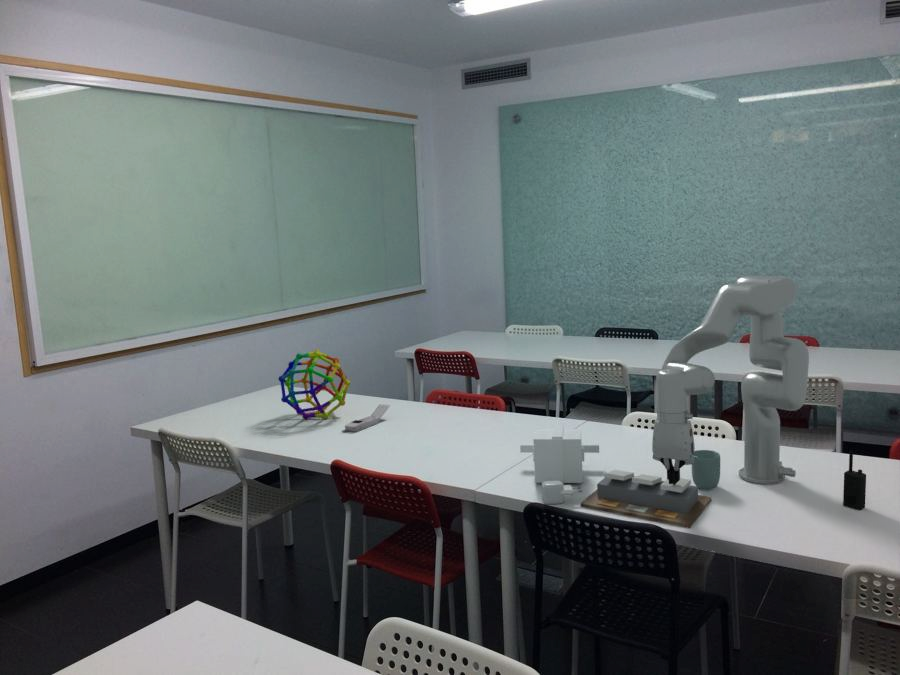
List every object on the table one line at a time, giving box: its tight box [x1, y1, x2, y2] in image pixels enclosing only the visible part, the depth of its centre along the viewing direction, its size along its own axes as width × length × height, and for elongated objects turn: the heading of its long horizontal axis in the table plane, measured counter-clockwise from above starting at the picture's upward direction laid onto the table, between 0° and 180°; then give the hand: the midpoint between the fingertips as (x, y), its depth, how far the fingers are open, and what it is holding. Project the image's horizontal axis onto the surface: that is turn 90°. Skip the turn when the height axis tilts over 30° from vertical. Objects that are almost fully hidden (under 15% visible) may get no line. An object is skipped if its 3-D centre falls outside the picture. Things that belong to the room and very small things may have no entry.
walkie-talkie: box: [842, 450, 867, 511], centre depth 186 cm, size 5×3×15 cm
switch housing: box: [596, 475, 699, 514], centre depth 197 cm, size 25×10×5 cm, turn 55°
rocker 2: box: [632, 473, 663, 485], centre depth 197 cm, size 6×8×1 cm
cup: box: [691, 449, 721, 491], centre depth 205 cm, size 8×8×10 cm
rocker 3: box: [661, 477, 692, 493], centre depth 192 cm, size 6×8×1 cm
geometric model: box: [278, 349, 351, 420], centre depth 304 cm, size 30×30×30 cm
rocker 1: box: [603, 469, 635, 481], centre depth 201 cm, size 6×8×1 cm
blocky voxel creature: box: [519, 426, 600, 485], centre depth 226 cm, size 15×25×28 cm
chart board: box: [579, 489, 713, 529], centre depth 197 cm, size 30×20×1 cm, turn 55°
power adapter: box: [541, 481, 584, 505], centre depth 201 cm, size 11×5×6 cm, turn 90°
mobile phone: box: [341, 404, 391, 433], centre depth 290 cm, size 6×6×25 cm
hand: (673, 482), depth 190 cm, fingers closed
